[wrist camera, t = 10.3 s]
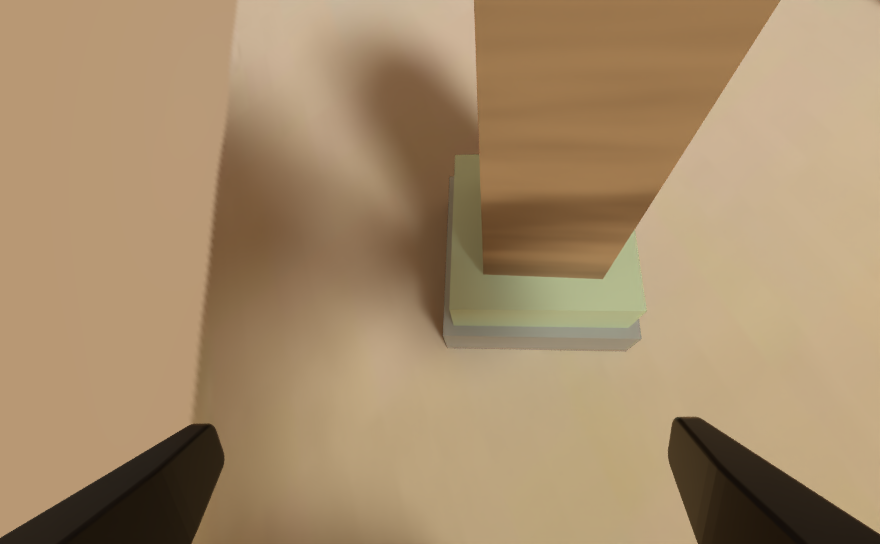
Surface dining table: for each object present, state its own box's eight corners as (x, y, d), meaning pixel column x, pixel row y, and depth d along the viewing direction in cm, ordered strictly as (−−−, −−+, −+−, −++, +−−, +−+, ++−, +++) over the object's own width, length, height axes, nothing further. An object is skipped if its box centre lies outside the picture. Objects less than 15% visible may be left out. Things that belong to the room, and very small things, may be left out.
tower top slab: (628, 327, 20) (646, 311, 18) (453, 325, 21) (449, 309, 19) (609, 180, 23) (623, 149, 21) (458, 183, 24) (455, 155, 22)
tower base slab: (625, 351, 22) (641, 338, 20) (447, 347, 23) (442, 335, 21) (607, 198, 25) (618, 172, 23) (453, 200, 26) (449, 176, 24)
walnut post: (602, 279, 18) (812, -50, 6) (483, 274, 19) (472, -33, 7) (596, 179, 20) (750, -218, 8) (488, 177, 21) (486, -192, 9)
